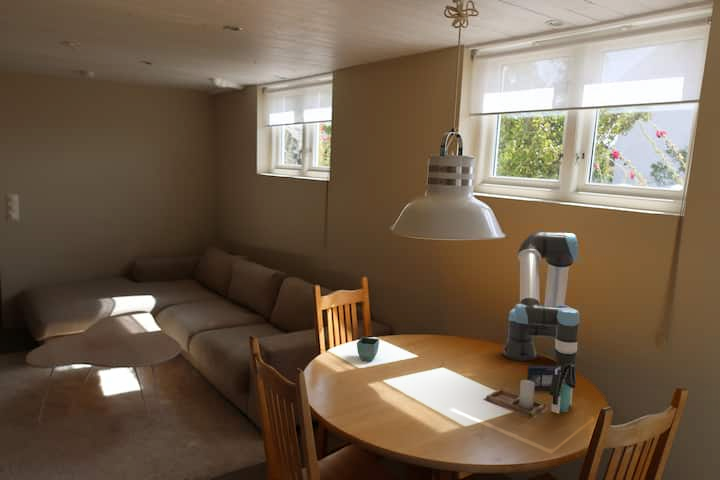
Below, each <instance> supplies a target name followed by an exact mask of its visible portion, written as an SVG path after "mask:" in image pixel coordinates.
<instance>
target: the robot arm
mask: <svg viewBox="0 0 720 480" xmlns="http://www.w3.org/2000/svg"><path fill="white" fill-rule="evenodd" d="M517 259H518V261H519V263H520V264H519V265H520V266H519V268H520V269H519V303H516V304H515V305H514V308H512V309H510V311H509V317H508V333H507V334H508V335H507V340H506V343H505V344H504V348H503V352H502V353H503V356H505V358H508V359H509V360H510V359H511V360H514V361H522V362H529V361H533V360H535V359H537V351H536V346H535V344H534V337H540V338H541V337H542V338H549V339H550V338H551V339H554V342H555V343H554V348H555V349H554V360H555V361H556V362H557V365H556V366H557V369H555V368H553V376H552V382H551V387H550V391H549V396H552V397H551V398H552V399H551V410H550V411H551V412H553V413H556V414H560V412H559V411H560V397H561V396H559V395H560V391H561V388H562V384H563V381H564V379H565V382H566V385H568V386H570V398H569V406H572V403H573V402H572V399H573V391H574V390H573V389H575V388H576V384H577V377H576V376H577V375H576V364H577V351H578V337H579V327H580V311H579V310H577V309H575V308H572V307H569V306H568V305H565V302H566V294H567V287H568V279H569V277H568V276H569V269H570V267H572V266H573V264H574V262H575V261H578V260H579V247H578V239H577V236H576V234H574V233H570V232H569V233H568V232H553V231H551V232H550V231H536V232H533V233H531V234H528V236H527V237H525V239H523V241H522V242H521V244H520V245H519V247H518V251H517ZM541 259H545V263H546V264H547V265H548V267H547V275H546V276H547V277H546V286H545V293H544V294H545V295H544V297H545V298H544V305H541V304H540V303H541V302H540V301H541V300H540V261H541ZM561 375H562V376H561ZM572 387H573V388H572Z"/></svg>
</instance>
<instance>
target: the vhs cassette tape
mask: <svg viewBox="0 0 720 480" xmlns="http://www.w3.org/2000/svg"><path fill="white" fill-rule="evenodd" d="M553 368H555V369H557V365H528V366H527V378H526V380H530V381H532V382H534V383H535V386H534V390H537V389H538V390H542V391H546V392H550V387H551V382H552V376H553ZM561 376H562V375H561ZM563 384H566V382H565V379H564V381H563ZM572 388H573V387H572ZM573 389H574V388H573Z"/></svg>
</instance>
